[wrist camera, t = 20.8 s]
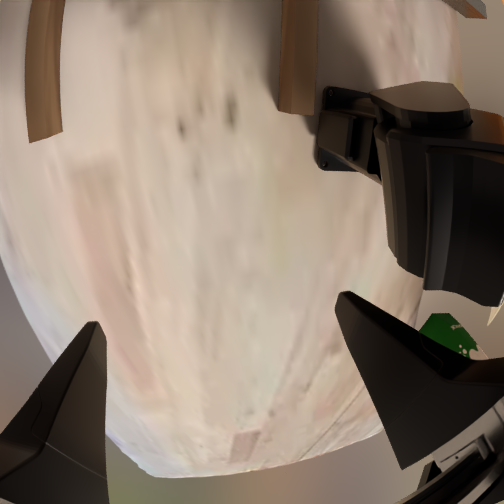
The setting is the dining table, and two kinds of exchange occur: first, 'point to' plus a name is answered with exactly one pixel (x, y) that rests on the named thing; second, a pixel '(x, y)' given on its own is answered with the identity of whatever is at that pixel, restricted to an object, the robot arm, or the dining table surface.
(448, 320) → the milk carton
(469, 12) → the bar
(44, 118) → the stall
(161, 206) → the dining table surface
